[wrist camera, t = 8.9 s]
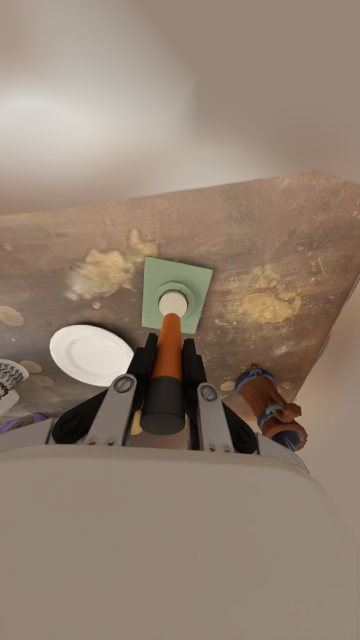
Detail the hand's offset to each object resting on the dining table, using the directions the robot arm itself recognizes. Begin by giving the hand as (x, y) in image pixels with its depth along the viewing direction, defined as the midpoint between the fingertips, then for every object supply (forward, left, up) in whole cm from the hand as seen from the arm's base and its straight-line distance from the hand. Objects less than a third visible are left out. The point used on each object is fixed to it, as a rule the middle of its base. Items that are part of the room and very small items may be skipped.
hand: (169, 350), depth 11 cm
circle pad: (+1, 0, -14) cm, 14 cm away
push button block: (+1, 0, -17) cm, 17 cm away
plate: (+20, -17, -17) cm, 31 cm away
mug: (+20, +27, -17) cm, 38 cm away
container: (+42, -52, -17) cm, 69 cm away
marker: (0, 0, -6) cm, 6 cm away
